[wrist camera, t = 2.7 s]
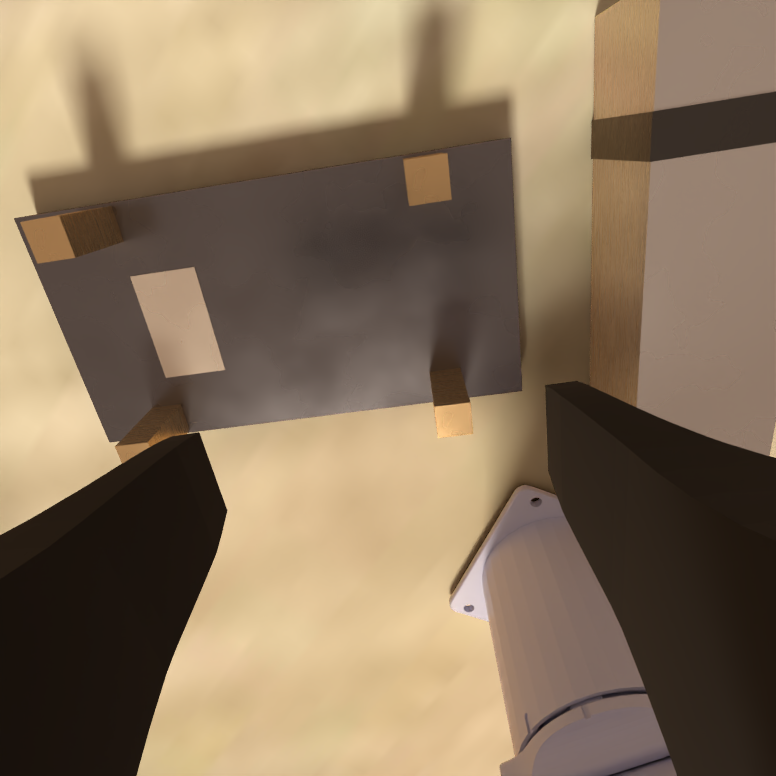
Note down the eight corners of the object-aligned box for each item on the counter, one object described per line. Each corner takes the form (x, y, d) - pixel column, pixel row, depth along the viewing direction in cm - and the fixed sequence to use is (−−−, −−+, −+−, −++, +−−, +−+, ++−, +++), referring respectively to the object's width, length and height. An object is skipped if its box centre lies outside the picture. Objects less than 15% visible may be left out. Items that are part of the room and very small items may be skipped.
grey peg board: (503, 138, 18) (532, 135, 14) (515, 378, 21) (541, 428, 18) (36, 214, 19) (-55, 230, 15) (123, 428, 23) (67, 484, 19)
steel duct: (697, 418, 22) (767, 481, 18) (587, 431, 22) (631, 495, 18) (745, -10, 16) (869, -66, 12) (592, 17, 16) (660, -29, 12)
